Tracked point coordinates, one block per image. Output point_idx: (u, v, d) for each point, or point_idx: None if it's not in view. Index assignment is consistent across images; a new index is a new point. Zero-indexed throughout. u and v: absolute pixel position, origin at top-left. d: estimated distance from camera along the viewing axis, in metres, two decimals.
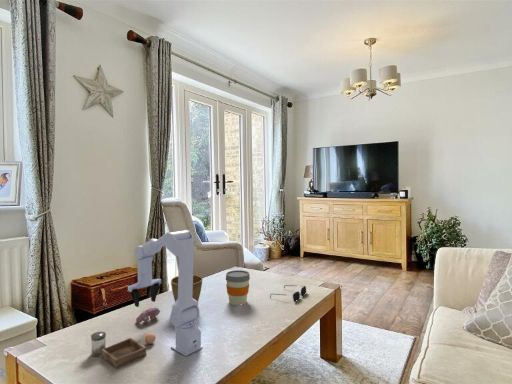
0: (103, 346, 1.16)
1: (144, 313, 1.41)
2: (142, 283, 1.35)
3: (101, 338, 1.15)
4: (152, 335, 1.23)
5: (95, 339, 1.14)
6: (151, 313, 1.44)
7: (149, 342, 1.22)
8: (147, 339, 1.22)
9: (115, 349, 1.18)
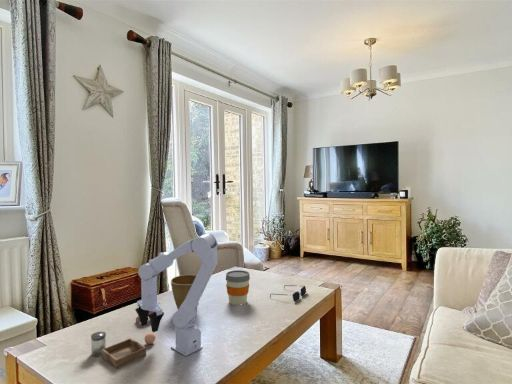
0: (103, 346, 1.16)
1: None
2: None
3: (101, 338, 1.15)
4: (152, 335, 1.23)
5: (95, 339, 1.14)
6: (151, 313, 1.44)
7: (149, 342, 1.22)
8: (147, 339, 1.22)
9: (115, 349, 1.18)
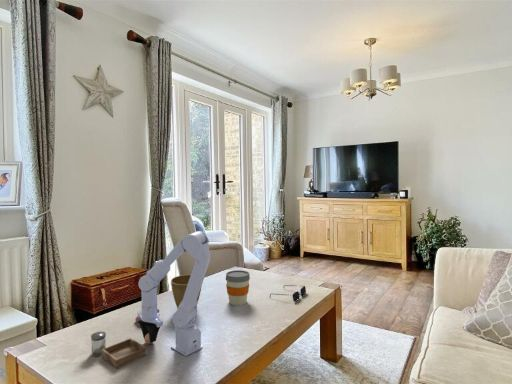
0: (103, 346, 1.16)
1: None
2: None
3: (101, 338, 1.15)
4: None
5: (95, 339, 1.14)
6: None
7: (149, 342, 1.22)
8: (147, 339, 1.22)
9: (115, 349, 1.18)
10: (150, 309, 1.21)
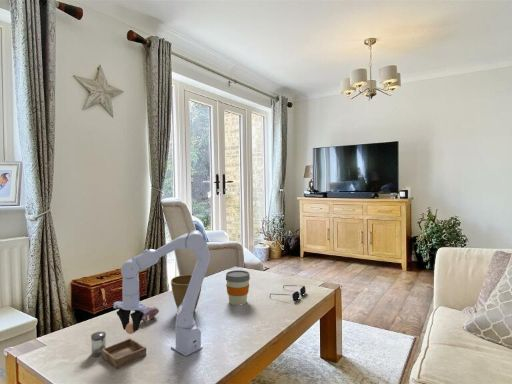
0: (103, 346, 1.16)
1: None
2: (122, 304, 1.16)
3: (101, 338, 1.15)
4: None
5: (95, 339, 1.14)
6: (150, 313, 1.44)
7: (132, 331, 1.16)
8: (130, 329, 1.16)
9: (115, 349, 1.18)
10: (134, 296, 1.15)
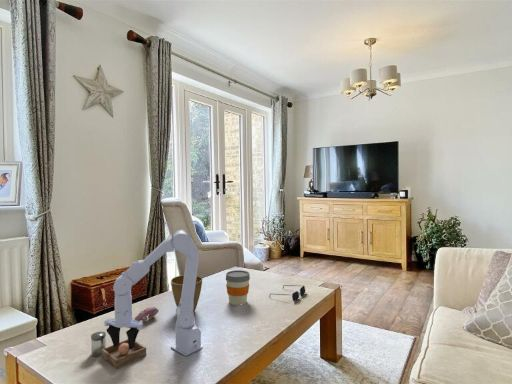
0: (103, 346, 1.16)
1: (143, 313, 1.41)
2: (114, 321, 1.13)
3: (101, 338, 1.15)
4: (127, 345, 1.15)
5: (95, 339, 1.14)
6: (149, 313, 1.44)
7: (125, 353, 1.14)
8: (123, 350, 1.13)
9: (115, 349, 1.18)
10: (127, 313, 1.13)
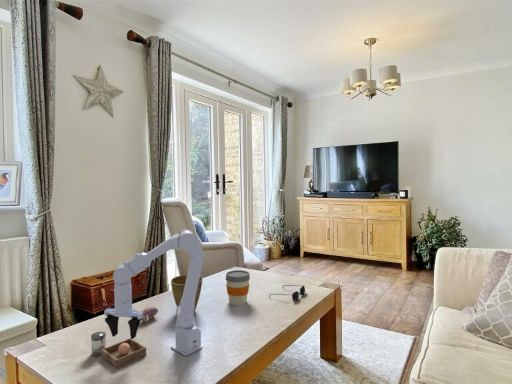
0: (103, 346, 1.16)
1: None
2: (114, 311, 1.13)
3: (101, 338, 1.15)
4: (127, 345, 1.15)
5: (95, 339, 1.14)
6: (149, 312, 1.44)
7: (125, 353, 1.14)
8: (123, 350, 1.13)
9: (115, 349, 1.18)
10: (127, 302, 1.13)
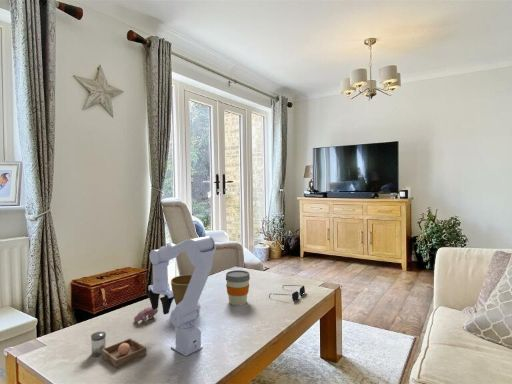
0: (103, 346, 1.16)
1: (142, 312, 1.42)
2: None
3: (101, 338, 1.15)
4: (127, 345, 1.15)
5: (95, 339, 1.14)
6: (149, 312, 1.44)
7: (125, 353, 1.14)
8: (123, 350, 1.13)
9: (115, 349, 1.18)
10: (161, 281, 1.28)
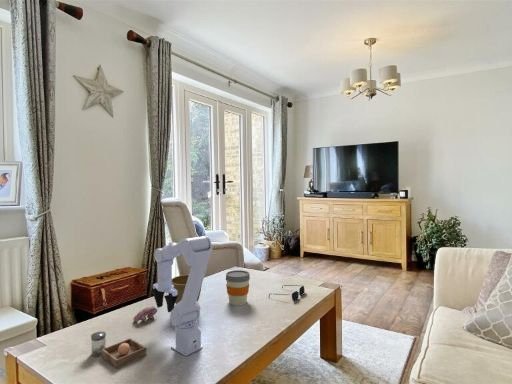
0: (103, 346, 1.16)
1: (141, 312, 1.42)
2: None
3: (101, 338, 1.15)
4: (127, 345, 1.15)
5: (95, 339, 1.14)
6: (148, 312, 1.45)
7: (125, 353, 1.14)
8: (123, 350, 1.13)
9: (115, 349, 1.18)
10: (165, 280, 1.30)
